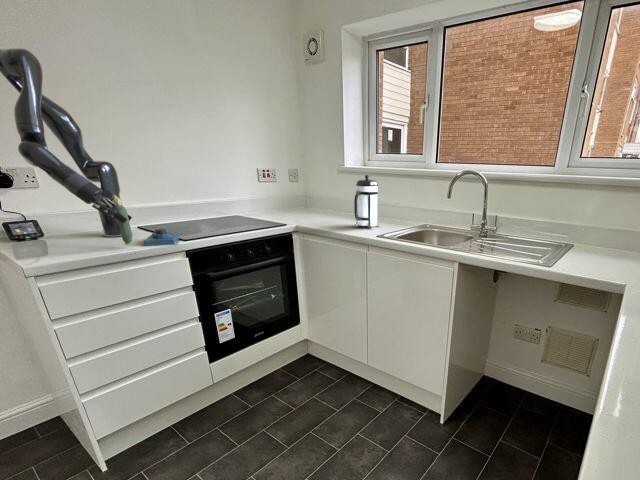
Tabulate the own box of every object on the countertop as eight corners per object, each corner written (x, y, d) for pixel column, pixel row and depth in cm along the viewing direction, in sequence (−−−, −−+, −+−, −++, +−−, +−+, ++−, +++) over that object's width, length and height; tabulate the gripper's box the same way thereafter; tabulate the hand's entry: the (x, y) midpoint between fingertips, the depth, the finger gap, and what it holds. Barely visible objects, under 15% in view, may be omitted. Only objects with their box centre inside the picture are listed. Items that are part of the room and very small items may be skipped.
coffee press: (351, 225, 217) (350, 173, 206) (376, 224, 220) (377, 174, 210) (354, 230, 201) (354, 175, 190) (382, 229, 205) (382, 175, 194)
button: (157, 233, 158) (155, 228, 157) (167, 233, 159) (166, 228, 158) (155, 235, 154) (154, 230, 153) (165, 234, 156) (164, 230, 155)
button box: (151, 239, 162) (150, 230, 160) (179, 238, 166) (177, 229, 164) (145, 245, 150) (142, 236, 148) (174, 244, 154) (172, 235, 153)
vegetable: (137, 244, 145) (125, 194, 138) (126, 246, 142) (114, 195, 134) (129, 243, 147) (117, 194, 139) (119, 245, 143) (106, 194, 136)
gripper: (79, 182, 127) (127, 216, 134) (98, 180, 139) (140, 211, 147) (66, 197, 127) (114, 230, 135) (85, 194, 140) (128, 224, 148)
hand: (127, 220), depth 141 cm, fingers closed on vegetable, 4 cm apart
